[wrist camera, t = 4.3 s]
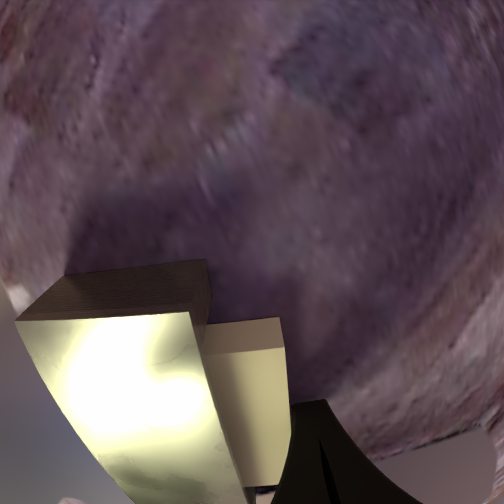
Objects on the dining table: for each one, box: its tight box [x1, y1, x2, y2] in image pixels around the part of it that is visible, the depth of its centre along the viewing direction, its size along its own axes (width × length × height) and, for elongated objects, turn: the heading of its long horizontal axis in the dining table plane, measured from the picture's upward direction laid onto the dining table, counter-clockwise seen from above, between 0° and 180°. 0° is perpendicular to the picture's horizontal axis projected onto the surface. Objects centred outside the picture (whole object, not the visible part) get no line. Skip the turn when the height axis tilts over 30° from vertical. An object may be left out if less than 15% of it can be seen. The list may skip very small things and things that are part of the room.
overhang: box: [14, 259, 256, 504], centre depth 10 cm, size 5×12×3 cm, turn 7°
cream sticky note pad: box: [202, 317, 291, 487], centre depth 11 cm, size 6×8×2 cm
